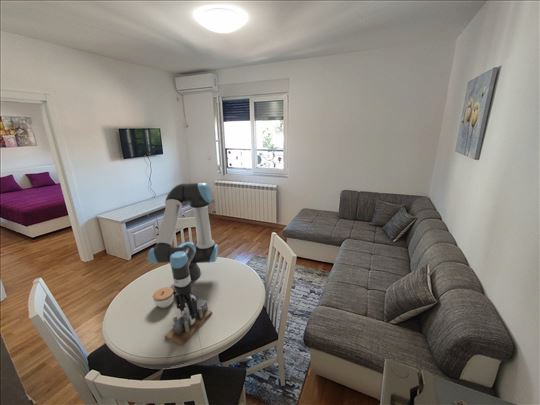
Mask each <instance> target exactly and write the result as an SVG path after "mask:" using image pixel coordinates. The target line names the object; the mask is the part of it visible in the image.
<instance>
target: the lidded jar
mask: <svg viewBox="0 0 540 405" xmlns="http://www.w3.org/2000/svg"><path fill="white" fill-rule="evenodd" d="M173 292H174V289H173V288H172V287H169V286H167V287H166V286H165V287H161V288H159V289H157V290H155V291H154V293H153V294H152V298H153V302H154V303H155V305H156V306H157V307H158V308H161V309H165V308H168V307H170V305H171V304H172V303H173V301H174V300H175V296H174V294H173Z"/></svg>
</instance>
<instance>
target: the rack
mask: <svg viewBox="0 0 540 405" xmlns="http://www.w3.org/2000/svg"><path fill="white" fill-rule="evenodd" d="M198 310H199V317H198V318H197V319H196V320H195V322H194V323H193V324H192V325H191V326H190V327H189V325H188V321H185V322H184V325H185V332H184V333H183V334H182V335H181V336H179V335H177V334H174V331H173V327H172V328H171V329H170V330H168V332H166V333H165V335H164V339H166V340H168V341H171V342H173V343H175V344H177V345H179V346H181V347H184V345H185V344H186V342H187V341H188V340H189V339H190V338H191V337H192V336H193V335H194V334H196V332H197V331H198V329H199V328H200V327H201V326H202V325H203V324H204V323H205V322H206V321H207V320H208V319H209V317H211V315H212V314H213V311H211V310H210V309H207V310H206V311H205V312H204V313H203V312H202V308H201V307H200V308H198ZM178 319H179V318H178V317H177V316H174V317H173V324H174V323H175V322H176V321H177V320H178Z"/></svg>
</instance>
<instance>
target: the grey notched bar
mask: <svg viewBox="0 0 540 405" xmlns="http://www.w3.org/2000/svg"><path fill="white" fill-rule="evenodd" d="M200 307H201V308H202V312H203V313H204V312H205V311H206V310H209V306H208V301H207V300H206V299H205V300H204V299H202V298H199V299H198V300H197V309H198V308H200ZM189 314H190V313H189V310H188V309H187V312H186V313H185V314H184V315H183V316H182V315H181V316H180V317H179V318H177V319H178V320H177V321H176V322H175V323H174V322H173V324H172V328H173V331H174V334H177V335H179V336H181V335H182V334H183V333H184V332H185V325H184V322H185V321H188V325H189V327H190V326H191V325H190V319H189ZM198 317H199V310H198V312H197V313H196V314H195V320H196V319H197V318H198Z"/></svg>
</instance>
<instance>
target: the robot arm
mask: <svg viewBox="0 0 540 405" xmlns="http://www.w3.org/2000/svg"><path fill="white" fill-rule="evenodd" d="M211 190H212V189H211V187H210V185H209V184H208V183H206V182H196V183H195V182H192V183H190V182H189V183H180V184H177V185H176V186H174V187H172V188H171V190H169V193H168V194H167V196H166V198H165V201H164V204H165V209H164V213H163V216H162V220H161V224H160V229H159V232H158V237H157V240H156V244H155V247H152V248H150V249H149V250H148V252H147V260H148V261H149V263H151V264H154V263H155V264H163V263H164V264H165V263H170V266H171V268H170V269H171V273H172V278H173V283H174V290H173V294H174V300H175V306H176V308H177V310H179V311H180V313H181V317H182V316H183V315H184V314H185V313H186V312H187V311H188V310H189V313H190V314H189V319H190V325H192V324H193V323H194V322H195V314H196V313H197V312H198V309H197V301H198V300H197V298H198V297H197V295H193V292H192V288H193V285H192V282H194V281H195V280H197V279H199V277H200V276H201V274H202V271H201V268H200V266H199V265H198V264H199V263H201V264H203V263H205V264H206V263H207V264H208V263H209V264H210V263H215V262H216V261H217V258H218V255H219V254H218V252H219V245H218V244H217V243H215V240H214V239H212V232H211V224H210V217H209V216H210V215H209V209H208V207H209V205H210V202H212V199H213V194H212V191H211ZM184 204H189V207H190V208H191V209H192V211H193V216H194V223H195V228H196V229H195V230H196V235H197V243H196V244H195V243H194V242H193V241H187V242H183V243H180V244H179V245H178V246H174V247H173V241H174V236H175V231H176V229H177V228H176V227H177V224H178V218H179V215H180V214H179V213H180V210H181V208H182V207H183V205H184Z"/></svg>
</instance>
